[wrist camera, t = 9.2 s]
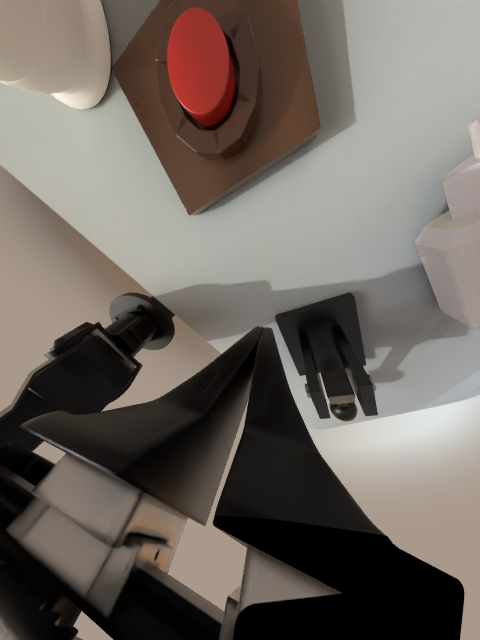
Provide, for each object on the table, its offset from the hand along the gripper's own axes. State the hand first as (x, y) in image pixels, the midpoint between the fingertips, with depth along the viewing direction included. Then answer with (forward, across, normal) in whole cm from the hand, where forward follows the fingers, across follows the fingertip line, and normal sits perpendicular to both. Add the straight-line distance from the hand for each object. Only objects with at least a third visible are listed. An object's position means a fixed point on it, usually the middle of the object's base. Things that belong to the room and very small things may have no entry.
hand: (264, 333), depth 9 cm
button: (+9, +5, -12) cm, 16 cm away
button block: (+13, +6, -12) cm, 19 cm away
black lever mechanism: (+13, -5, +11) cm, 18 cm away
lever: (+8, -7, +14) cm, 18 cm away
